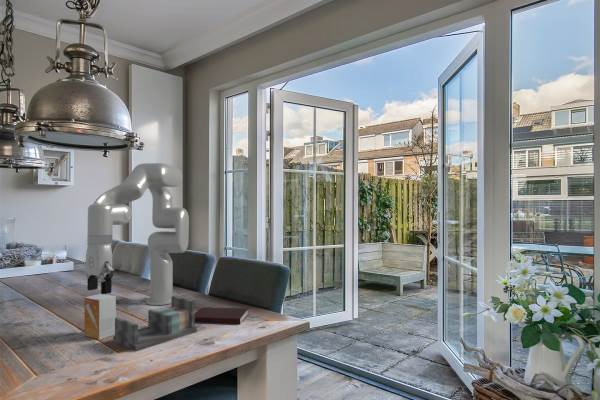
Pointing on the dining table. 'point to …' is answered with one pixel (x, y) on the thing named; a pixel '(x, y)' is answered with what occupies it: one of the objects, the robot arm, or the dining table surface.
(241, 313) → the book
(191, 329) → the rack
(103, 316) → the small box
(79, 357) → the dining table surface
